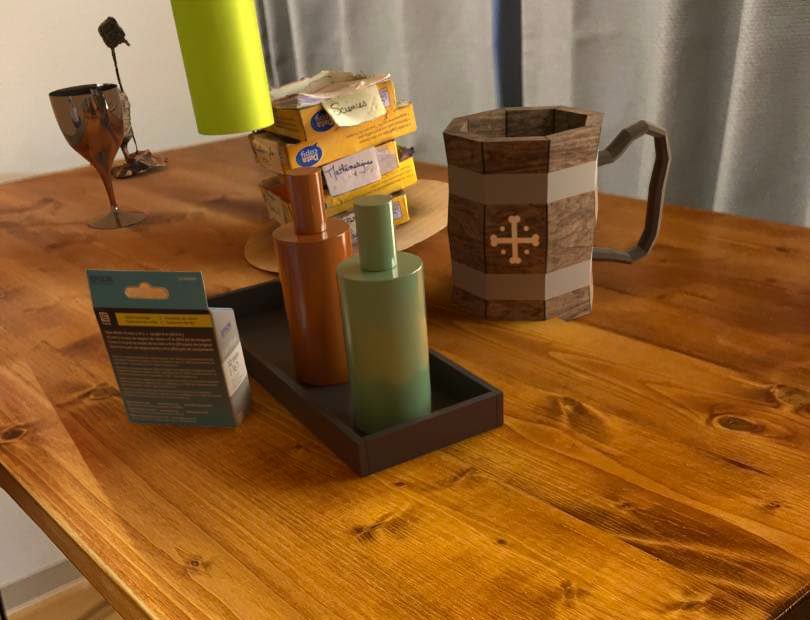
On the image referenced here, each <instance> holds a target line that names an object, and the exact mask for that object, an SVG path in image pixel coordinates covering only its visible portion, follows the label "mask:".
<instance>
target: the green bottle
mask: <svg viewBox="0 0 810 620" xmlns="http://www.w3.org/2000/svg"><path fill="white" fill-rule="evenodd" d="M353 204H354V214H355V223H356V232H357V242H358V251H359V255H356V256H353V257H350V258H348V259H345V260H344V261H342V262H340V263H339V264H338V265H337V267H336V269H335V273H336V281H337V289H338V297H339V305H340V313H341V321H342V329H343V337H344V345H345V353H346V361H347V369H348V377H349V385H350V393H351V401H352V409H353V417H354V423H355V426H356V427H357V428H358V429H359V430H360V431H361V432H363V433H365V434H368V435H370V434H373V433H376V432H379V431H381V430H384V429H387V428H390V427H393V426H395V425H398V424H401V423H404V422H407V421H410V420H412V419H415V418H418V417H421V416H424V415H426V414H429V413H432V397H431V381H430V366H429V350H428V346H429V336H428V321H427V304H426V292H425V291H426V289H425V288H426V287H425V275H424V273H425V272H424V261H423V259H422V258H421V257H420V256H418V255H416V254H414V253H411V252H407V251H402V250H401V251H397V248H396V236H395V223H394V211H393V199H392V197H390V196H386V195H369V196H364V197H360V198H358V199H356V200H354V202H353Z"/></svg>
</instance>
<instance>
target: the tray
mask: <svg viewBox="0 0 810 620" xmlns="http://www.w3.org/2000/svg"><path fill="white" fill-rule="evenodd" d="M206 299H207V305H208V307H215V308H232V309H233V312H234V316H235V321H236V325H237V330H238V334H239V339H240V343H241V348H242V352H243V357H244V361H245V366H246V370H247V375H248V377H249V378H250V379H252V380H253V381H254V382H255V383H256V384H257V385H258V386H259V387H260V388H261V389H263V390H264V392H266V393H267V394H268V395H269V396H270V397H271V398H273V399H274V401H276V402H277V403H278V404H279V405H280V406H281V407H282V408H283V409H284V410H286V411H287V412H288V413H289V415H291V416H292V417H293V418H294V419H295V420H297V421H298V423H300V424H301V425H302V426H303V427H304V428H305V429H306V430H308V432H309V433H310V434H312V435H313V436H314V437H315V438H316V439H317V440H319V442H321V443H322V444H323V445H324V446H325V448H327V449H329V451H330V452H332V453H333V454H334V455H335V456H336V457H337V458H338V459H339V460H341V461H342V462H343V463H344V464H345V465H346V466H347V467H348V468H349V469H350V470H351V471H352V472H354V474H356V475H357V476H358V477H359V478H360V479H364V478H366V477H369V476H372V475H375V474H378V473H380V472H383V471H386V470H389V469H391V468H393V467H396V466H399V465H401V464H404V463H407V462H410V461H412V460H414V459H417V458H420V457H423V456H426V455H428V454H431V453H434V452H437V451H438V450H442V449H444V448H446V447H449V446H452V445H455V444H458V443H460V442H463V441H465V440H468V439H471V438H474V437H476V436H479V435H482V434H484V433H487V432H490V431H493V430H495V429H499V428H500V427H503V426H504V419H505V416H504V415H505V414H504V410H505V409H504V407H505V406H504V391H503V390H501V389H500V388H498V387H496V386H495V385H493V384H491V383H490V382H488V381H486V380H485V379H483V378H481V377H480V376H478V375H477V374H475V373H473V372H472V371H470V370H468V369H466V368H465V367H464V366H462V365H461V364H459V363H458V362H455V361H454V360H452V359H450V358H448V357H447V356H445V355H444V354H442V353H441V352H439V351H437V350H436V349H434V348H432V347H431V346H429V345H428V350H429V366H430V381H431V397H432V413H429V414H426V415H424V416H421V417H418V418H415V419H412V420H410V421H407V422H404V423H401V424H398V425H395V426H393V427H390V428H387V429H384V430H381V431H379V432H376V433H373V434H370V435H368V434H365V433H363V432H361V431H360V430H359V429H358V428H357V427H356V426H355V423H354V417H353V409H352V401H351V393H350V385H349V381H348V382H345V383H342V384H337V385H329V386H316V385H310V384H306V383H303V382H301V381H300V380H298V379H297V377H296V375H295V370H294V364H293V358H292V352H291V346H290V340H289V334H288V328H287V321H286V315H285V309H284V303H283V297H282V291H281V285H280V279H279V277H278V278H274V279H270V280H266V281H264V282H259V283H255V284H251V285H247V286H245V287H240V288H237V289H232V290H229V291H225V292H222V293H218V294H213V295H210V296H206Z"/></svg>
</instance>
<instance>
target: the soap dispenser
mask: <svg viewBox="0 0 810 620" xmlns="http://www.w3.org/2000/svg"><path fill="white" fill-rule="evenodd" d="M169 1H170V7H171V11H172V16H173V21H174V25H175V29H176V30H175V31H176V34H177V40H178V45H179V49H180V53H181V57H182V62H183V67H184V72H185V77H186V80H187V81H186V82H187V86H188V91H189V95H190V101H191V104H192V109H193V115H194V120H195V124H196V128H197V133H198V134H199V135H201V136H228V135H236V134H242V133H249V132H252V131H257V130H261V129H262V128H266V127H268V126H271V125H273V124H274V117H273V111H272V105H271V99H270V93H269V88H270V86H269V80H268V75H267V70H266V64H265V58H264V52H263V47H262V46H263V45H262V39H261V35H260V28H259V23H258V16H257V15H258V14H257V10H256V3H255V0H169Z"/></svg>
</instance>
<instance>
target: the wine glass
mask: <svg viewBox="0 0 810 620" xmlns="http://www.w3.org/2000/svg"><path fill="white" fill-rule="evenodd" d="M118 86H119V85H118V84H116V83H112V82H111V83H108V82H106V83H103V82H101V83H99V82H98V83H88V84H81V85H79V84H78V85H74V86H67V87H63V88H59V89H56V90H53V91H51V92H49V93H48V98H49V102H50V106H51V109H52V112H53V115H54V118H55V120H56V123H57V125H58V127H59V129H60V132H61V134H62V136H63V137H64V139H65V141H66V142H67V144H68V146H70V147H71V148H72V149H73V150H74V152H76V153H77V154H78V155H79V156H81V157H82V158H84V160H86V161H87V162H88V163H89V164H90V163H91V164H92V167H93V168H94V169H95V170H96V171H97V173H98V175H99V176H100V178H101V181H102V183H103V185H104V188H105V191H106V194H107V198H108V201H109V205H110V211H109V212H107V213H105V214H102V215H99V216H97V217H95V218H93V219H91V220H90V221H89V223H88V225H89V227H90V228H92V229H97V230H98V229H99V230H108V229H110V230H111V229H118V228H123V227H128V226H132V225H134V224H135V225H136V224H137V223H139V222H142V221H143V220H145V218H146V217H147V215H146V214H145V213H144V212H142V211H138V210H122V209H120V208H119V206H118V203H117V201H116V200H117V199H116V196H115V191H114V187H113V186H114V185H113V179H112V178H113V177H112V174H111V169H112V168H113V165H114V161H115V158H116V157H117V154H118V152H119V150H120V149H121V148H120V146H121V144H122V141H123V138H124V115H123V108H122V103H121V98H120V93H119V89H120V88H119V87H118ZM118 88H119V89H118Z"/></svg>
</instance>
